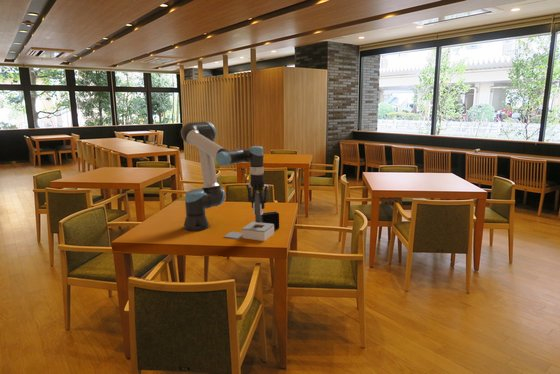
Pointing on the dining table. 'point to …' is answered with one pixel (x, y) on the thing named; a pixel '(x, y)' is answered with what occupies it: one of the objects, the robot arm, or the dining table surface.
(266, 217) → the electronic device
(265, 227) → the box
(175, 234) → the dining table surface
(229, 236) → the pad
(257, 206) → the stylus
